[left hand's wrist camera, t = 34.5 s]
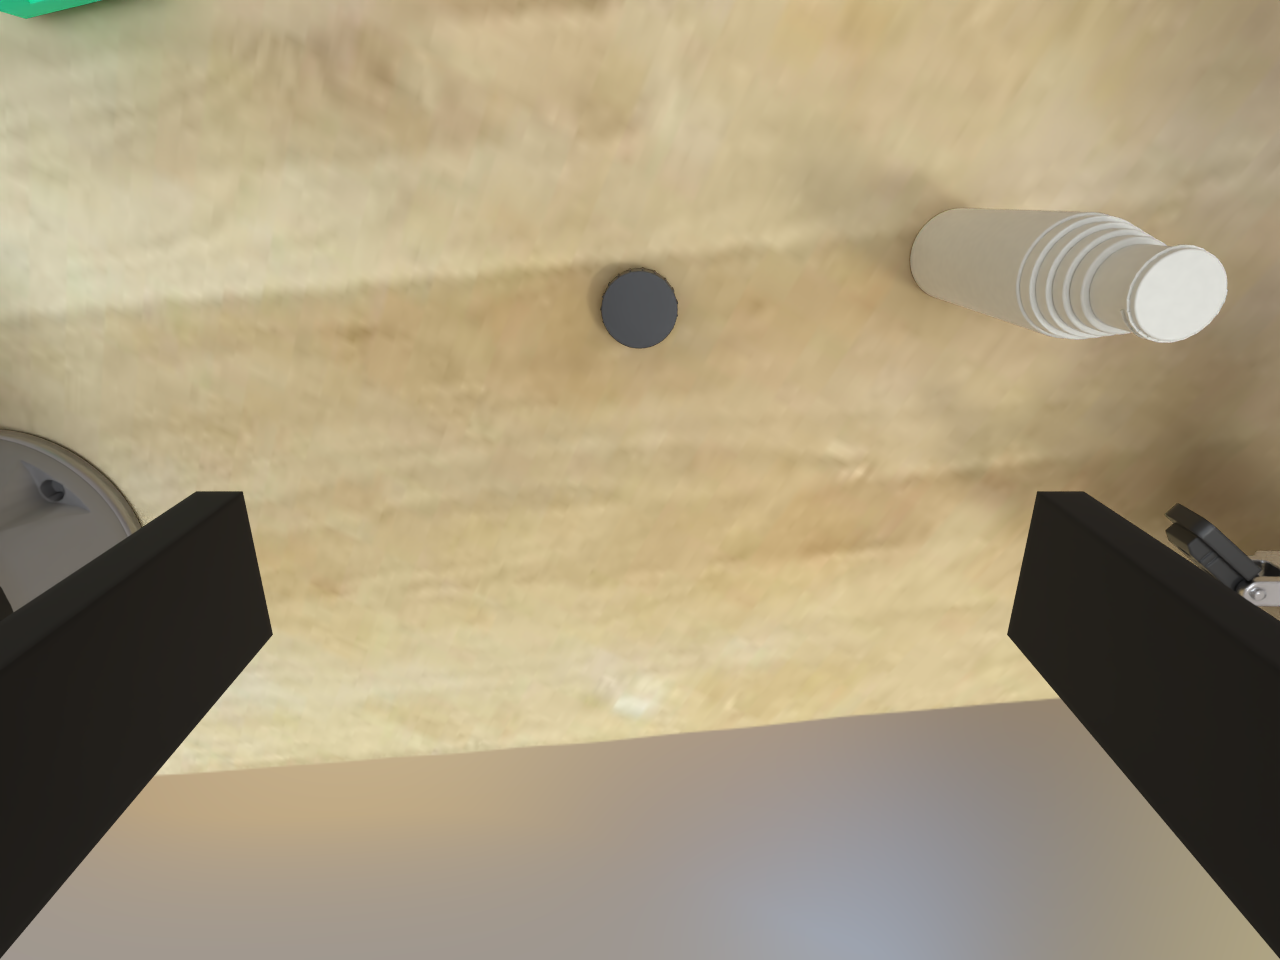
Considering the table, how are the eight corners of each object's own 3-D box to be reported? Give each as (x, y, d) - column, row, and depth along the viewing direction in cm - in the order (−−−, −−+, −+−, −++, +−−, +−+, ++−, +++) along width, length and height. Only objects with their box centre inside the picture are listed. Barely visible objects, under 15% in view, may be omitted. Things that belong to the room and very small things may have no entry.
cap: (688, 325, 42) (690, 330, 41) (620, 355, 43) (619, 361, 41) (659, 254, 41) (660, 257, 39) (589, 286, 42) (587, 290, 40)
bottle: (903, 298, 42) (1088, 369, 25) (916, 207, 40) (1125, 214, 23) (989, 300, 42) (1233, 371, 25) (1006, 208, 40) (1281, 216, 23)
